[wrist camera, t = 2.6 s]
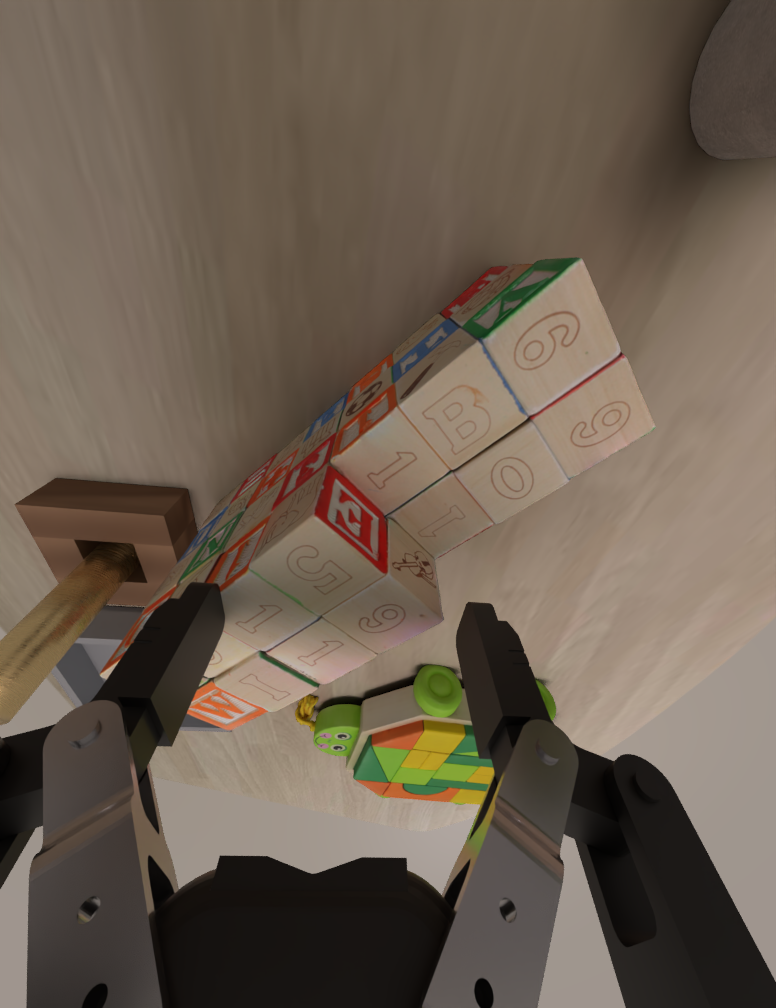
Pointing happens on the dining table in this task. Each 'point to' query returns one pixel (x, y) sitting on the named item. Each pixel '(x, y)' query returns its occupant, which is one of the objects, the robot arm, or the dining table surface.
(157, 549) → the pin base
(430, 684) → the wooden turtle toy
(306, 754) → the dining table surface
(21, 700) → the pin
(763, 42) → the house plant
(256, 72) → the dining table surface
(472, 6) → the dining table surface
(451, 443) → the stack of blocks
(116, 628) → the pin tray
